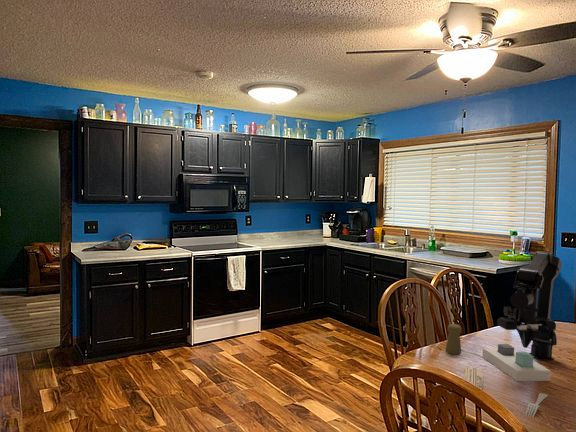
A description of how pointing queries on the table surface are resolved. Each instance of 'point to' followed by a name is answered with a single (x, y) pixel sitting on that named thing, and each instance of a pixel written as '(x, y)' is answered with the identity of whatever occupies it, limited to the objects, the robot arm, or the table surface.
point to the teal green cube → (524, 359)
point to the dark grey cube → (506, 349)
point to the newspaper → (474, 376)
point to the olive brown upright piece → (453, 339)
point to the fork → (540, 398)
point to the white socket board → (516, 366)
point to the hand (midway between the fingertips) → (525, 347)
